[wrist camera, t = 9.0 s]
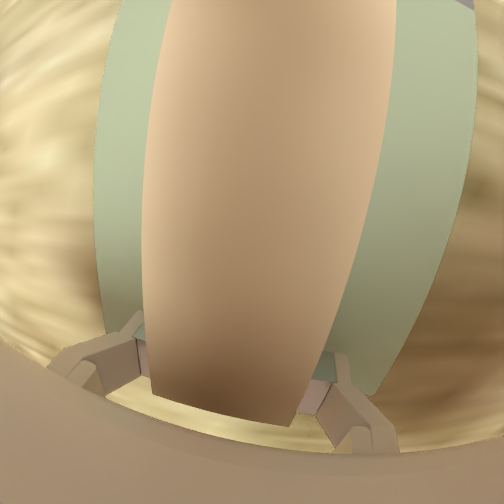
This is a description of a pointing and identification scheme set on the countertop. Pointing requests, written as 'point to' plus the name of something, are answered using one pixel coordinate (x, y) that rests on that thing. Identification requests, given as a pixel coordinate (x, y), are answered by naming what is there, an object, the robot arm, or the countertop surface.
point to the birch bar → (257, 192)
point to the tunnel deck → (384, 189)
